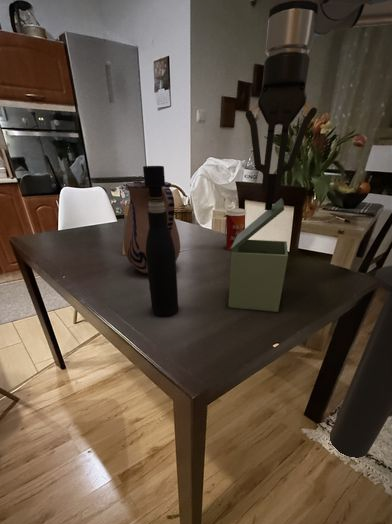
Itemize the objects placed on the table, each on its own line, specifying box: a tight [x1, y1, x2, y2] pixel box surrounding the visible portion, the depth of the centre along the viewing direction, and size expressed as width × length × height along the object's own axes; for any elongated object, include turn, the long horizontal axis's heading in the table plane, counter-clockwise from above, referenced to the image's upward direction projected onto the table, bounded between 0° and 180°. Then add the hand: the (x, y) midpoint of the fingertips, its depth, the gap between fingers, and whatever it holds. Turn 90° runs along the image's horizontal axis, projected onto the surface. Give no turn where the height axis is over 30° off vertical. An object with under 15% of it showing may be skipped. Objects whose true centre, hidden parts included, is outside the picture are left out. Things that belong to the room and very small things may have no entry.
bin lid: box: [230, 197, 285, 252], centre depth 64 cm, size 13×12×1 cm
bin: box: [227, 239, 289, 313], centre depth 70 cm, size 12×12×14 cm
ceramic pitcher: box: [123, 180, 181, 274], centre depth 85 cm, size 18×21×25 cm
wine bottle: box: [142, 165, 179, 318], centre depth 61 cm, size 6×6×30 cm
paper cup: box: [225, 207, 247, 251], centre depth 108 cm, size 8×8×14 cm
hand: (268, 208), depth 62 cm, fingers closed
